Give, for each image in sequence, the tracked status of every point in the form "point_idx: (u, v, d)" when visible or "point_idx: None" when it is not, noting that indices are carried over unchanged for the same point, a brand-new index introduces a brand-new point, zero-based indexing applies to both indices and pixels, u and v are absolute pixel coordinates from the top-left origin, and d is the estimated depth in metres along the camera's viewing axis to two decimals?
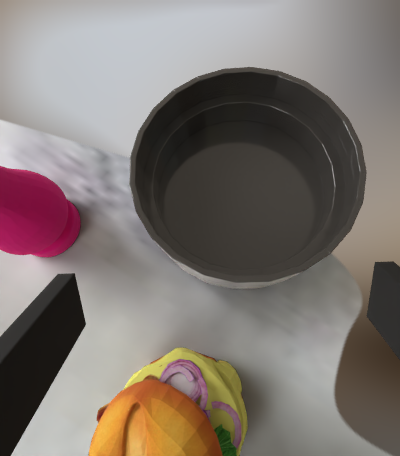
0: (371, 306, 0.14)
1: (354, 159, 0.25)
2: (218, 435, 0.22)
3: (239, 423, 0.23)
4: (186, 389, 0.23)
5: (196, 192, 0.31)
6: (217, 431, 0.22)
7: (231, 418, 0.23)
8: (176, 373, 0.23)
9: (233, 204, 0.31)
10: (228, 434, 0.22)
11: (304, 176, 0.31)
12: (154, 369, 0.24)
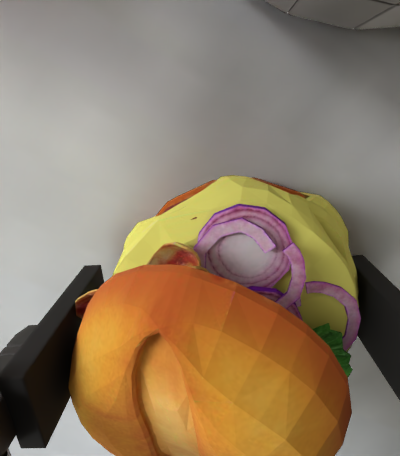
0: None
1: None
2: None
3: (357, 315, 0.11)
4: (254, 263, 0.11)
5: None
6: (318, 335, 0.11)
7: (340, 305, 0.12)
8: (233, 234, 0.10)
9: None
10: (339, 337, 0.11)
11: None
12: (180, 225, 0.11)
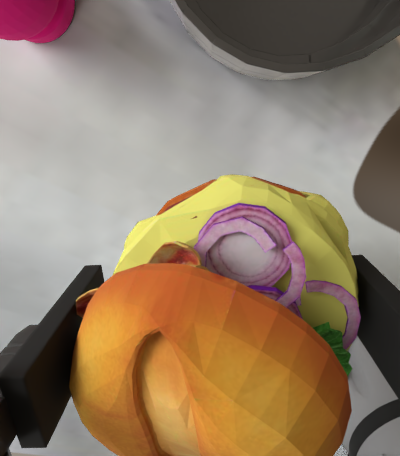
0: None
1: None
2: None
3: (357, 314, 0.12)
4: (255, 262, 0.11)
5: None
6: (318, 333, 0.11)
7: (339, 304, 0.12)
8: (233, 233, 0.10)
9: None
10: (339, 336, 0.11)
11: None
12: (181, 224, 0.11)
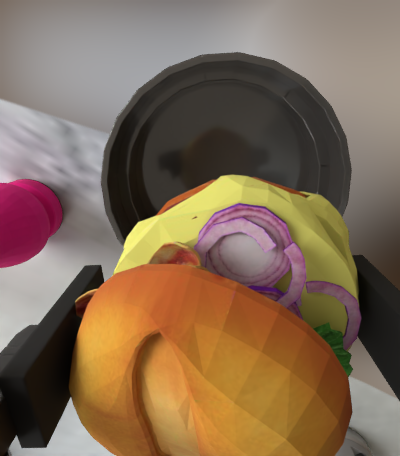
0: None
1: (340, 182, 0.24)
2: None
3: (358, 314, 0.11)
4: (255, 263, 0.11)
5: (176, 176, 0.30)
6: (319, 334, 0.11)
7: (340, 304, 0.12)
8: (233, 234, 0.10)
9: None
10: (339, 337, 0.11)
11: (290, 159, 0.29)
12: (181, 224, 0.11)
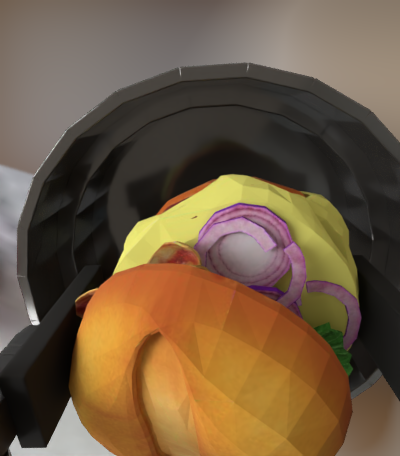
0: None
1: None
2: None
3: (358, 314, 0.11)
4: (255, 262, 0.11)
5: None
6: (319, 334, 0.11)
7: (340, 304, 0.12)
8: (233, 233, 0.10)
9: None
10: (339, 336, 0.11)
11: None
12: (181, 224, 0.11)
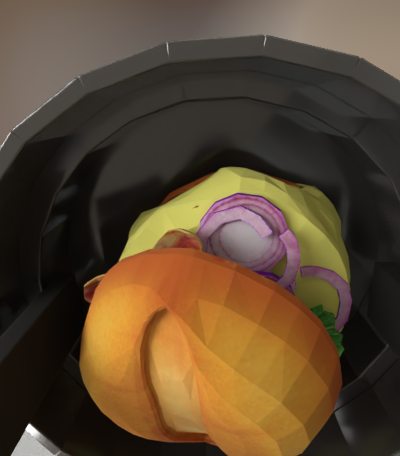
0: (371, 306, 0.14)
1: None
2: None
3: (349, 297, 0.12)
4: (253, 249, 0.11)
5: None
6: None
7: (332, 288, 0.12)
8: (232, 221, 0.11)
9: None
10: (331, 318, 0.12)
11: (346, 237, 0.16)
12: (183, 213, 0.12)
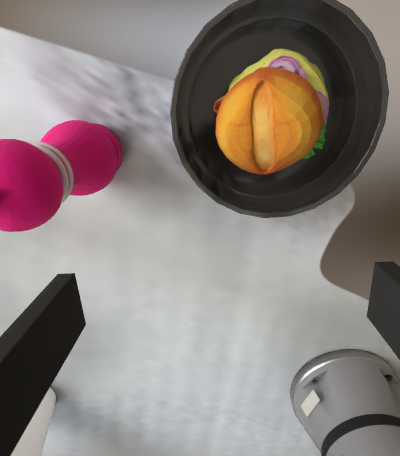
0: (371, 306, 0.14)
1: (378, 105, 0.28)
2: None
3: (327, 105, 0.29)
4: None
5: None
6: None
7: (320, 102, 0.29)
8: (279, 68, 0.28)
9: None
10: None
11: (328, 96, 0.32)
12: (258, 67, 0.28)
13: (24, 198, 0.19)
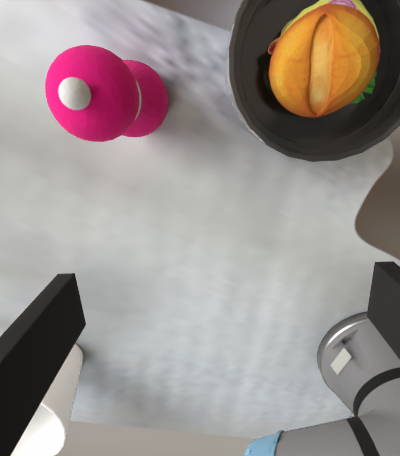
0: (371, 306, 0.14)
1: None
2: None
3: (379, 49, 0.30)
4: None
5: None
6: None
7: None
8: None
9: None
10: None
11: None
12: (314, 9, 0.29)
13: (112, 99, 0.20)
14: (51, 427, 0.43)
